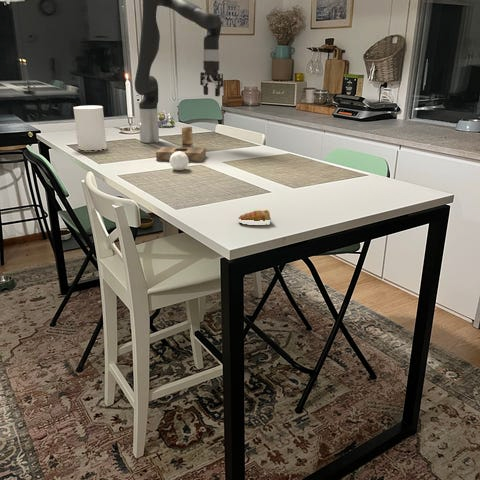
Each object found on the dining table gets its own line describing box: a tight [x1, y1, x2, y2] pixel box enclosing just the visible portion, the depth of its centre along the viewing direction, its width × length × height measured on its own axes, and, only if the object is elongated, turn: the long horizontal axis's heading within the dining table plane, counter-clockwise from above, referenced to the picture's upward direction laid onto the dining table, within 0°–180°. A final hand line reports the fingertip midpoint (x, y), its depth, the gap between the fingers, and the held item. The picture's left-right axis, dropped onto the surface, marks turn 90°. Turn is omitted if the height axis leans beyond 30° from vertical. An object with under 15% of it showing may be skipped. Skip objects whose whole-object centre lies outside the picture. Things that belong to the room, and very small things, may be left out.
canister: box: [73, 105, 108, 151], centre depth 239 cm, size 14×14×20 cm
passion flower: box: [158, 109, 176, 129], centre depth 306 cm, size 11×11×12 cm
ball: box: [169, 151, 190, 171], centre depth 200 cm, size 8×8×8 cm
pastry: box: [238, 209, 272, 221], centre depth 141 cm, size 9×7×4 cm
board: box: [155, 146, 207, 163], centre depth 221 cm, size 20×12×4 cm, turn 83°
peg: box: [181, 126, 194, 148], centre depth 231 cm, size 4×4×12 cm
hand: (211, 95), depth 236 cm, fingers open, 8 cm apart
